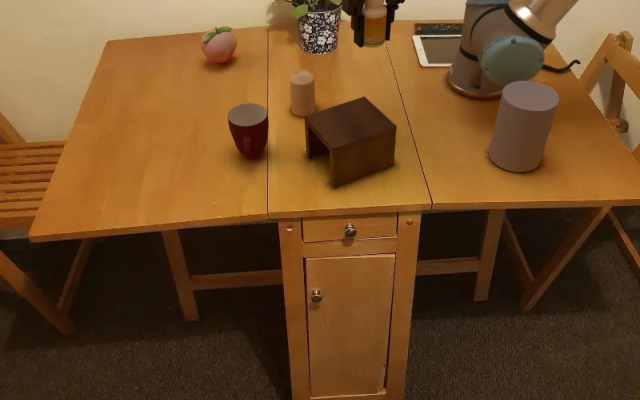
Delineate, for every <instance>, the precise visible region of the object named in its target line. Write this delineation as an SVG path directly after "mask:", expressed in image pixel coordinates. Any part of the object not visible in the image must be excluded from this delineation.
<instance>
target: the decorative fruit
mask: <svg viewBox="0 0 640 400" xmlns="http://www.w3.org/2000/svg"><path fill="white" fill-rule="evenodd" d="M233 30H234V28H232V27H230V26H220V27H217V26H215V27H214V28H212V29H209V30H208V31H207V32H205V33H204V34H203V35H202V38H201V40H200V49H201V51H202V53H203V55H204V56H205V57H206V59H207V60H209V62H212V63H214V64H224V63H225V62H227V61H229V60H230V59H231V58H232V57H233V56H234V54H235V52H236V49H237V46H238V41H237V38H236V36H235V35H234V33H232V32H231V31H233Z"/></svg>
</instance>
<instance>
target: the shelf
mask: <svg viewBox="0 0 640 400" xmlns="http://www.w3.org/2000/svg"><path fill="white" fill-rule="evenodd" d="M303 119H304V120H303V121H304V136H305V137H304V138H305V153H306V154H305V155H306V157H307V158H308V159H309V160H311V159H313V158H316V157H319V156H322V155H325V154H327V153H329V184H330V186H331V187H332V189H336V188H339V187H341V186H342V187H343V186H344V185H347V184H350V183H352V182H354V181H358V180H359V179H363V178H365V177H368V176H370V175H373V174H376V173H378V172H382V171H384V170H386V169H389V168H391V167H394V166H395V153H396V140H397V130H398V129H397V125H396V124H395V123H394V122H393V121H392V120H391V119H390V118H389V117H388V116H387V115H386V114H384V113H383V112H382V111H381V110H380V109H379V108H378V107H377V106H376V105H375V104H374V103H372V102H371V101H370V100H369V99H368V98H367V97H366V96H365V95H363V96H361V97H358V98H355V99H352V100H349V101H346V102H342V103H340V104H336V105H334V106H330V107H328V108H324V109H321V110H319V111H315V112H314V113H312V114H309V115H306V116H304V118H303Z"/></svg>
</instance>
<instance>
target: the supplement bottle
mask: <svg viewBox="0 0 640 400" xmlns="http://www.w3.org/2000/svg"><path fill="white" fill-rule="evenodd" d="M385 5H386V4H385V0H365V3H364V6H363V10H362V13H361V14H362V15H364V16H365V21H364V43H363V47H365V48H371V49H374V48H379V47H381V46H383V45H384V44H385V42H386V40H385V32H386V18H387V8H386V6H387V5H386V6H385Z"/></svg>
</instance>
